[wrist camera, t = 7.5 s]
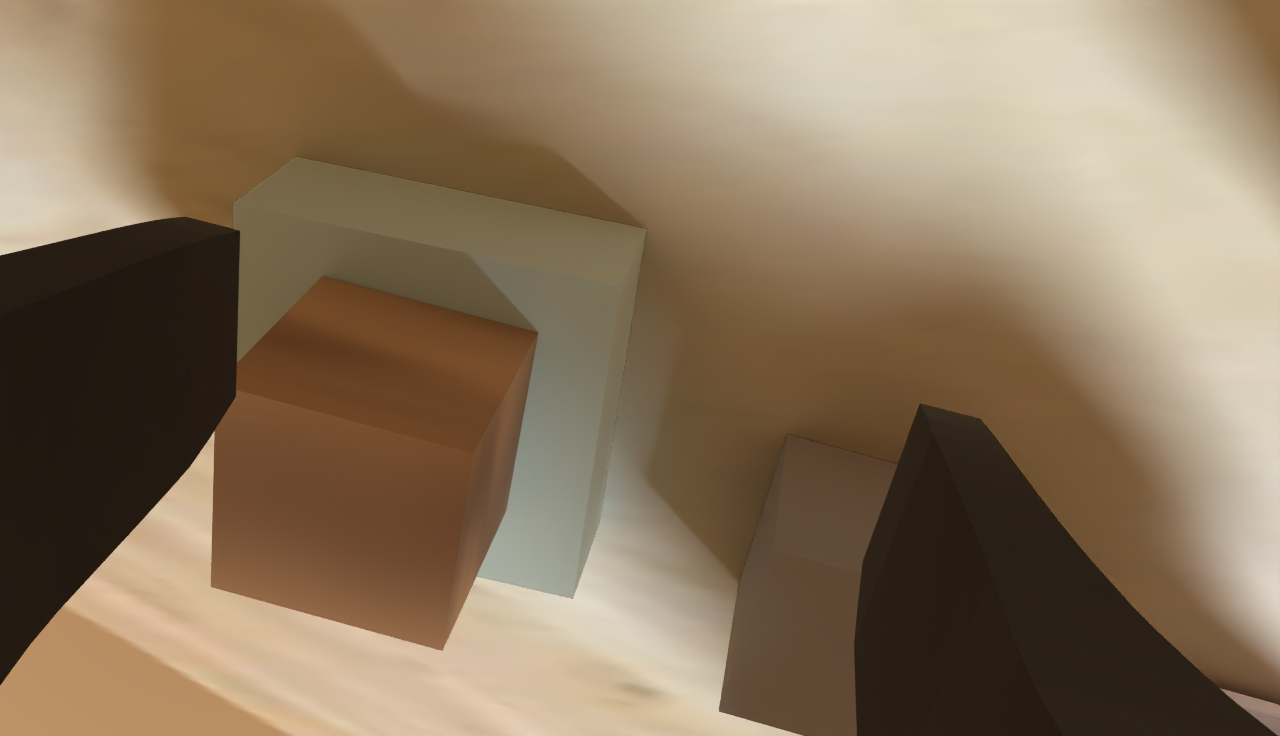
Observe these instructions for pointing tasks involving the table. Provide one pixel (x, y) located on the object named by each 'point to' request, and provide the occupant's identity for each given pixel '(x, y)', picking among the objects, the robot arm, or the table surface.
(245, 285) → the base block
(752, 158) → the table surface
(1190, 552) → the table surface
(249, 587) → the walnut cube
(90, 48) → the table surface
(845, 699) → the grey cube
